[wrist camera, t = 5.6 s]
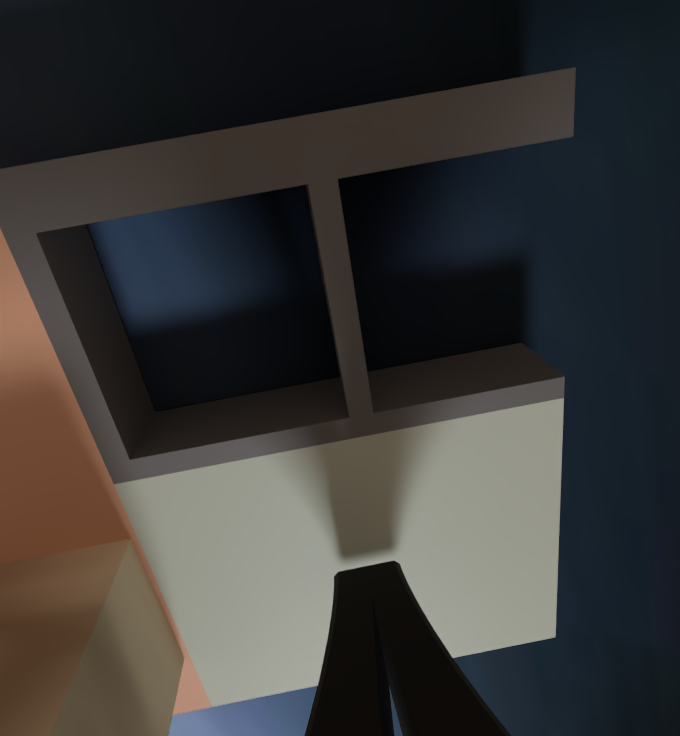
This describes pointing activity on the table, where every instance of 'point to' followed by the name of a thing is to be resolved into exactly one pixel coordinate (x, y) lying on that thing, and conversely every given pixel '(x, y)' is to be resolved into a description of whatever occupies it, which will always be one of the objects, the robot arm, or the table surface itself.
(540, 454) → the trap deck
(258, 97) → the table surface
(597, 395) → the table surface
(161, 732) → the birch block
